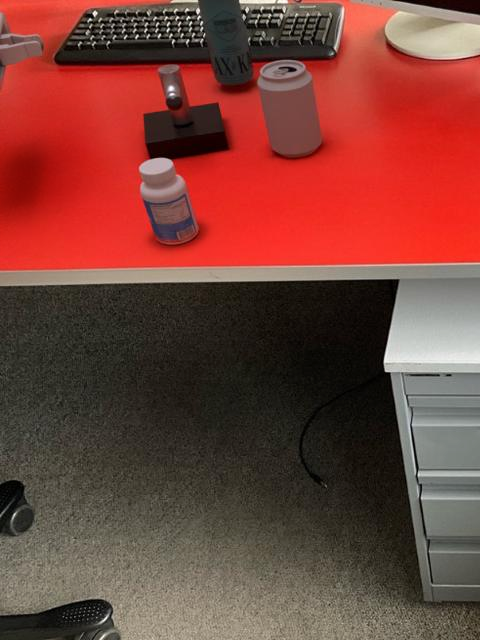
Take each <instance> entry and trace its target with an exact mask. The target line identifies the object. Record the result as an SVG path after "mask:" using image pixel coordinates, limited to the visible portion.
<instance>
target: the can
mask: <svg viewBox="0 0 480 640" xmlns="http://www.w3.org/2000/svg"><path fill="white" fill-rule="evenodd" d="M306 69H307V67H306V64H304V63H303V62H301V61H299V60H294V59H281V60H280V59H279V60H275V61H272V62H269V63H266V64H264V65H263V66H262V67H261V68H260V70H259V74H260V76H259V77H258V79H257V81H256V83H257V89H258V94H259V98H260V103H261V107H262V113H263V117H264V122H265V126H266V127H265V128H266V131H267V136H268V140H269V146H270V149H271V150H273V151H274V152H276V153H277V154H279V155H280V156H283V157H286V158H300V157H306V156H309V155H310V154H311V155H312V153H314V152H316V150H318V148H319V146H321V144H322V143H323V135H322V128H321V122H320V116H319V111H318V105H317V98H316V92H315V86H314V80H313V76H312V74H311V72H309V71H308V70H306Z"/></svg>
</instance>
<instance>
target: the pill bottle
mask: <svg viewBox="0 0 480 640" xmlns="http://www.w3.org/2000/svg"><path fill="white" fill-rule="evenodd" d="M138 171H139V175H140V178H141V180H142V182H141V184H140V186H139V192H140V196H141V200H142V202H143V205H144V208H145V210H146V214H147V217H148V219H149V223H150V226H151V229H152V232H153V235H154V237H155V239H156V240H157V241H158V242H159V243H161V244H163V245H170V246H171V245H172V246H174V245H175V246H176V245H182V244H184V243H187V242H189V241H191V240H192V239H193V238H195V237H196V236H197V235H198V233H199V229H200V228H199V224H198V221H197V217H196V213H195V211H194V207H193V204H192V201H191V197H190V193H189V191H188V187H187V184H186V181H185V179H184V178H183V177H182V176H181V175H179V174H177V171H176V168H175V164H174V162H173V161H172V159H167V158H155V159H151V160H150V159H147V160H145V161H143V162H142V163H141V164H140V165H139V167H138Z"/></svg>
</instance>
